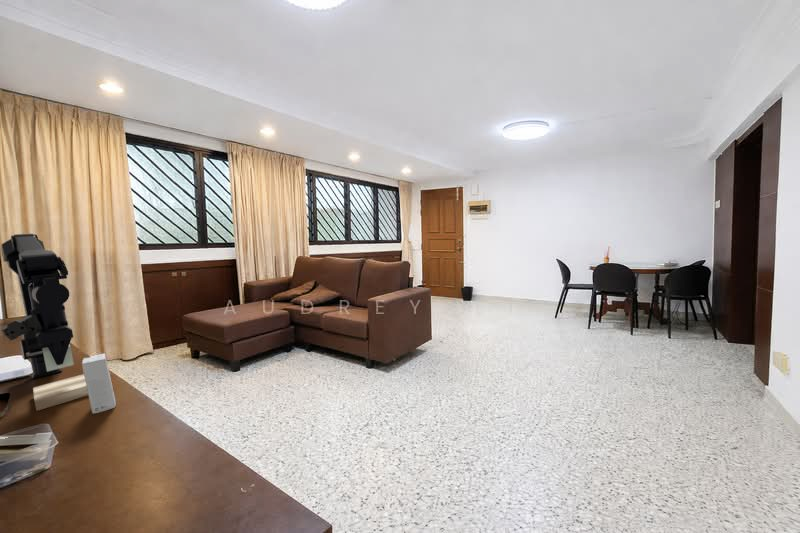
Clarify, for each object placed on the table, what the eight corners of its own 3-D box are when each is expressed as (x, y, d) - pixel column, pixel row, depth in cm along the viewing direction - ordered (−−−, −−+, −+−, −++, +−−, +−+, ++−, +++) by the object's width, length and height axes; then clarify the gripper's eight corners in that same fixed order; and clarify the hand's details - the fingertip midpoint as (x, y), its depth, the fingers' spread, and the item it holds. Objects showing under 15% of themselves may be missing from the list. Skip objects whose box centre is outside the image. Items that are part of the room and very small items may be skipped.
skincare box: (116, 407, 84) (107, 358, 82) (90, 415, 81) (81, 364, 79) (115, 398, 88) (107, 352, 87) (91, 405, 86) (82, 357, 84)
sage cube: (46, 367, 92) (42, 348, 91) (72, 360, 96) (68, 342, 95) (47, 371, 89) (43, 352, 88) (73, 364, 92) (70, 346, 92)
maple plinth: (35, 396, 93) (33, 387, 93) (90, 381, 101) (88, 372, 101) (36, 410, 85) (34, 401, 85) (96, 392, 93) (94, 383, 93)
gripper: (1, 306, 91) (14, 364, 93) (-2, 315, 78) (13, 383, 80) (61, 297, 99) (71, 351, 101) (67, 304, 86) (79, 366, 88)
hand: (59, 362), depth 92 cm, fingers closed on sage cube, 5 cm apart
